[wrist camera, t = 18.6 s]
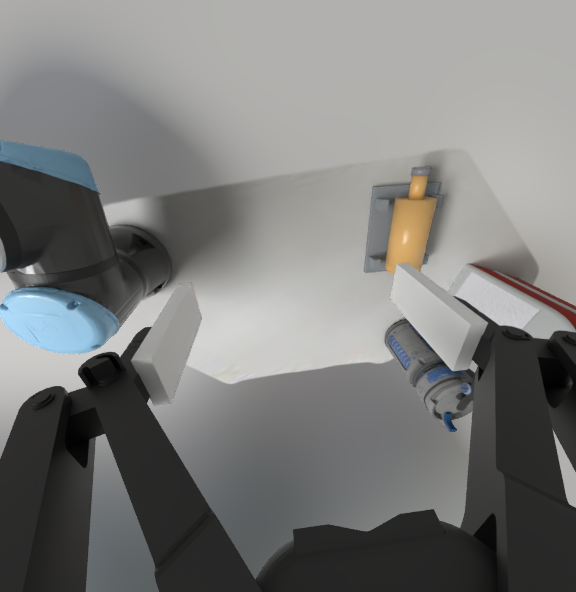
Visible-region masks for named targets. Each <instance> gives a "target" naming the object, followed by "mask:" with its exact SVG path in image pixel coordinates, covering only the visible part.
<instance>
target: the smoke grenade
mask: <svg viewBox="0 0 576 592" xmlns="http://www.w3.org/2000/svg"><path fill="white" fill-rule="evenodd" d="M385 344H386V346H387V348H388V349H389V351H390V352H391V354H392V355H393V357H394V358H395V360H396V361H397V363H398V364H399V366H400V367H401V369H402V370H403V372H404V374H405V375H406V377H407V378H408V380H409V382H410V383H411V384H412V385H413V387H415V388H416V392H417V394H418V395H419V397H420V398H421V400H422V401H423V403H424V405H425V406H426V408H427V409H428V410H429V412H430V413H431V414H432V415H433V416H434V417H435V418H436V419H437V420H438V421H439V422H440V424H441V425H442V426H443V427H444V428H446V429H447V430H448V431H450V432H455V431H457V429H456V428H455V427H454V425H453V424H452V421H451V420H454V419H458V418H460V417H463V416H465V415H467V414H468V413H470V412H471V411H472V410H473V399H474V386H475V382H474V383H473V384H472V383H471V381H472V378H473V376H474V374H475V373H474V372H473V371H471V370H470V369H469V368H468V370H460V371H452V370H451V369H450V368H449V367H448V366H447V364H446V363H445V362H444V361H443V360H442V359H441V358H440V356H439V355H438V354H437V353H436V352H435V351H434V350H433V348H432V347H431V346H430V345H429V344H428V343H427V342H426V340H425V339H424V338H423V337H422V336H421V335H420V334H419V332H418V331H417V330H416V329H415V328H414V327H413V326H412V324H411V323H410V322H409V321H408V320H404V321H399V322H397V323H396V324H393V325H392V326H391V327H390V328H389V329H388V330H387V332H386V334H385Z"/></svg>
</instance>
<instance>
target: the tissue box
mask: <svg viewBox="0 0 576 592" xmlns="http://www.w3.org/2000/svg"><path fill="white" fill-rule="evenodd" d="M447 292H448V293H449V294H450V295H452V296H456V297H458V298H461V299H463V300H465V301H467V302H468V303H469V304H471V305H472V306H473V307H475V308H476V309H478V310H479V312H482V313H483V314H485V315H486V316H487V317H489V318H490V319H491V320H493V321H494V322H496V323H497V324H498V325H500V326H502V325H507V326H513V327H516V328H519V329H522V330H524V331H526V332H527V333H529V334H530V335H531V336H532V337H533V338H540V339H550V337H551V335H552V334H553V333H554V331H558V330H562V331H570V332H576V306H574V305H572V304H570V303H568V302H566V301H564V300H562V299H559V298H557V297H555V296H553V295H551V294H549V293H547V292H545V291H543V290H541V289H539V288H537V287H535V286H533V285H531V284H529V283H527V282H525V281H523V280H521V279H518V278H515V277H512V276H508V275H505V274H502V273H500V272H498V271H495V270H488V269H485V268H482V267H478V266H475V265H472V264H467V265H465V267H464V268H463V270H462V271H461V272H460V274H459V275H458V277H457V278H456V280H455V281H454V283H453V284H452V286H451V287H450V289H449V290H448V291H447ZM572 384H573V383H572Z"/></svg>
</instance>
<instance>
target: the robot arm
mask: <svg viewBox="0 0 576 592" xmlns="http://www.w3.org/2000/svg"><path fill="white" fill-rule="evenodd" d="M99 194H101V192H100V190H99V189H98V188H97V186H96V183H95V180H94V178H93V175H92V172H91V169H90V167H89V165H88V163H87V162H86V161H85V160H84V159H83V158H82V157H80V156H78V155H77V154H74V153H72V152H68V151H64V150H59V149H53V148H49V147H43V146H37V145H31V144H24V143H18V142H10V141H3V140H0V273H2V272H7V274H8V275H9V277H10V279H11V281H12V283H13V285H14V286H15V290H13V291H11V292H9V293H8V294H7V295H6V296H5V298H4V299H3V303H2V304H1V305H0V316H1V319H2V321H3V322H4V324H5V325H6V327H8V329H9V330H10V331H11V332H12V333H14V334H15V335H16V336H18V337H19V338H21V339H22V340H24V341H26V342H28V343H29V344H31V345H34V346H37V347H40V348H43V349H45V350H48V351H52V352H56V353H63V354H81V353H86V352H90V351H93V350H96V349H98V348H99V347H101V346H102V345H104V344H105V343H106V342H107V341H108V340H109V339H110V338H111V337H112V336H113V335H114V334H116V333H117V332H118V330H119V328H120V327H121V326H122V324H123V323H124V322H125V321H126V319H127V318H128V317H129V315H130V314H131V313H132V312H133V310H134V309H135V308H136V306H137V305H138V304H139V303H140V301H141V300H144V299H146V298H148V297H151V296H153V295H155V294H157V293H158V292H159V291H161V290H162V289H163V287H164V286H165V285H166V283H167V282H168V280H169V278H170V276H171V269H172V268H171V261H170V257H169V255H168V253H167V251H166V249H165V248H164V247H163V245H162V244H161V243H160V242H159V241H158V240H157V239H156V238H155V237H153V236H152V235H151V234H149V233H147V232H145V231H144V230H141V229H139V228H136V227H132V226H126V225H117V226H111V227H109V226H108V223H107V219H106V216H105V213H104V209H103V206H102V203H101V199H100V196H99ZM390 300H391V302H392V303H393V304H394V305H395V306H396V307H397V308H398V310H399V311H400V312H401V313H402V314H403V315H404V316H405V318H406V319H407V320H408V321H409V322H410V323H411V324H412V326H413V327H414V328H415V329H416V330H417V331H418V332H419V334H420V335H421V336H422V337H423V338H424V339H425V340H426V342H427V343H428V344H429V345H430V346H431V347H432V348H433V350H434V351H435V352H436V353H437V354H438V355H439V356H440V358H441V359H442V360H443V361H444V362H445V363H446V364H447V366H448V367H449V368H450V369H451V370H452V371H460V370H468V368H469V366H470V364H471V361H472V360H473V361H474V362H475V363H476V364H477V365H478V367H477V370H476V372H475V374H474V376H473V378H472V381H471V383H472V384H473V383H474V382H475V386H474V399H473V413H472V427H471V440H470V453H469V466H468V479H467V480H468V481H467V492H466V506H465V513H464V518H463V521H462V525H461V527H460V528H458V527H456V526H453V525H451V524H448V523H445V522H442V521H439V519H438V518H437V515H436V513H435V511H434V509H432V510H425V511H418V512H411V513H404V514H399V515H397V516H396V517H394V518H392V519H390V520H389V521H387V522H385V523H383V524H382V525H380V526H378V527H376V528H374V529H373V530H371V531H368V532H365V531H359V530H354V529H349V528H343V527H339V526H334V525H321V526H314V527H307V528H300V529H294V530H293V534H294V540H292V541H290V542H289V543H287V544H285V545H284V546H283V547H281V548H280V549H279V550H278V551H277V552H275V553H274V554H273V556H272V557H271V558H270V559H269V560H268V561H267V563H266V564H265V565H264V567H263V568H262V570H261V571H260V573H259V575H258V576H257V578H256V580H255V579H254V577H253V576H252V574H251V572H250V571H249V569H248V567H247V566H246V564H245V562H244V561H243V559H242V558H241V556H240V554H239V553H238V551H237V549H236V548H235V546H234V544H233V543H232V541H231V539H230V538H229V537H228V535H227V533H226V532H225V530H224V528H223V526H222V525H221V523H220V521H219V520H218V519H217V517H216V515H215V514H214V512H213V511H212V510H211V508H210V507H209V505H208V504H207V502H206V501H205V499H204V497H203V496H202V494H201V492H200V491H199V489H198V487H197V485H196V484H195V482H194V481H193V479H192V477H191V476H190V474H189V472H188V471H187V469H186V467H185V466H184V464H183V463H182V461H181V459H180V457H179V456H178V454H177V453H176V451H175V450H174V448H173V446H172V444H171V443H170V441H169V439H168V438H167V436H166V434H165V433H164V431H163V429H162V428H161V426H160V425H159V423H158V421H157V420H156V418H155V416H154V415H153V413H152V411H151V410H150V408H149V406H148V405H147V402H148V400H149V398H150V399H151V401H152V403H153V405H154V406H156V405H165V404H171V403H172V401H173V398H174V395H175V392H176V390H177V387H178V384H179V381H180V379H181V376H182V373H183V370H184V367H185V365H186V362H187V359H188V356H189V353H190V351H191V348H192V345H193V342H194V340H195V337H196V334H197V331H198V328H199V326H200V323H201V320H202V317H201V313H200V310H199V306H198V302H197V299H196V295H195V292H194V288H193V285H192V282H191V283H180V284H179V285H178V286H177V288H176V290H175V291H174V293H173V294H172V296H171V298H170V299H169V301H168V302H167V304H166V306H165V307H164V309H163V310H162V312H161V313H160V315H159V317H158V318H157V320H156V321H155V323H154V325H153V326H152V327H145V328H144V329H142V330H141V331H140V332H138V333H137V334H136V335H135V337H134V338H133V340H132V341H131V343H130V344H129V345H128V347H127V349H126V350H125V351H124V353H123V354H122V355H121V357H119V355H118V354H117V353H115V352H106V353H101V354H99V355H96V356H94V357H92V358H90V359H89V360H87V361H86V362H85V363H84V364H82V365H81V367H80V368H79V370H78V375H79V376H80V378H81V379H82V381H83V382H84V383H85V385H86V386H87V387H85V388H82V389H79V390H76V391H73V392H70V393H68V392H67V391H66V390H65V388H63V387H61V386H54V387H50V388H47V389H44V390H42V391H39V392H38V393H36V394H35V395H33V396H31V397H30V398H29V399H28V400H27V401H26V402H24V403H23V405H22V406H21V408H20V409H19V412H18V415H17V417H16V420H15V422H14V425H13V428H12V430H11V433H10V435H9V438H8V440H7V443H6V446H5V448H4V451H3V453H2V456H1V459H0V592H86V577H87V562H88V545H89V530H90V515H91V501H92V485H93V470H94V454H95V440H96V439H95V438H96V437H97V436H100V435H102V434H106V436H107V439H108V442H109V444H110V447H111V450H112V452H113V455H114V457H115V460H116V463H117V466H118V468H119V471H120V473H121V476H122V479H123V481H124V484H125V486H126V489H127V492H128V494H129V497H130V500H131V502H132V505H133V508H134V510H135V513H136V516H137V518H138V520H139V523H140V526H141V529H142V531H143V534H144V536H145V539H146V542H147V544H148V547H149V550H150V552H151V555H152V557H153V561H154V563H155V573H154V574H155V578H156V583H157V586H158V589H159V592H576V508H575V507H573V506H571V505H569V503H568V501H567V498H566V494H565V489H564V484H563V479H562V474H561V469H560V465H559V460H558V455H557V449H556V445H555V440H554V435H553V430H554V432H555V434H556V436H557V438H558V440H559V442H560V443H561V445H562V447H563V449H564V451H565V453H566V455H567V457H568V458H569V460H570V462H571V464H572V466H573V468H574V470H575V472H576V332H570V331H562V330H558V331H554V333H553V334H552V335H551V337H550V339H540V338H533V337H532V336H531V335H530V334H529V333H527V332H526V331H524V330H522V329H519V328H516V327H513V326H507V325H502V326H500V325H498V324H497V323H496V322H494V321H493V320H491V319H490V318H489V317H487V316H486V315H485V314H483V313H482V312H479V310H478V309H476V308H475V307H473V306H472V305H471V304H469V303H468V302H467V301H465V300H463V299H461V298H458V297H456V296H452V295H450V294H449V293H448V292H446V291H445V290H444V289H442V288H441V287H440V286H438V285H437V284H436V283H434V282H433V281H432V280H430V279H429V278H428V277H426V276H425V275H424V274H422V273H421V272H420V271H418V270H417V269H416V268H414V267H413V266H412V265H410V264H409V263H399V264H396V269H395V275H394V281H393V286H392V292H391V298H390ZM572 383H573V384H572ZM552 428H553V430H552Z"/></svg>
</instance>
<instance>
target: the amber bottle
mask: <svg viewBox="0 0 576 592" xmlns="http://www.w3.org/2000/svg"><path fill="white" fill-rule="evenodd" d="M430 172H431V167H413V168H412V172H411V175H412V179H411V185H410V190H409V196H403V197H397V198H395V204H394V210H393V217H392V223H391V230H390V236H389V243H388V249H387V256H386V262H385V269H386V270H387V271H388V272H390V273H393V274H395V269H396V264H399V263H409V264H410V265H412V266H413V267H414V268H416V269H417V270H418V271H421V267H422V262H423V258H424V254H425V250H426V245H427V241H428V237H429V233H430V228H431V224H432V220H433V215H434V211H435V207H436V203H437V199H436V198H433V197H427V196H424V194H425V189H426V185H427V180H428V175H430Z"/></svg>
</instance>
